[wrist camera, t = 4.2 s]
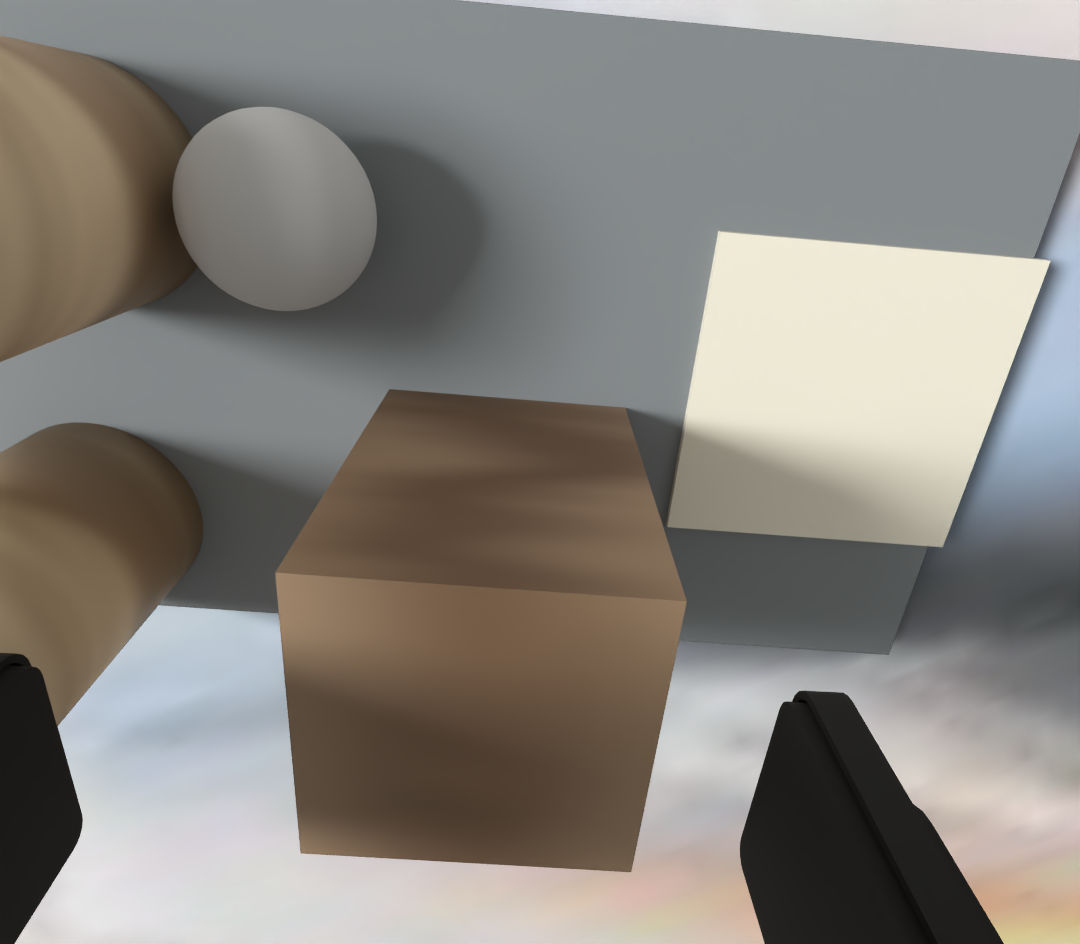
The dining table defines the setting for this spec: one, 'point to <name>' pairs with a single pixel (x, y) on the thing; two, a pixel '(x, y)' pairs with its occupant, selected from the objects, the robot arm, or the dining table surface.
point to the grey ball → (274, 208)
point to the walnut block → (480, 637)
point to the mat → (602, 278)
